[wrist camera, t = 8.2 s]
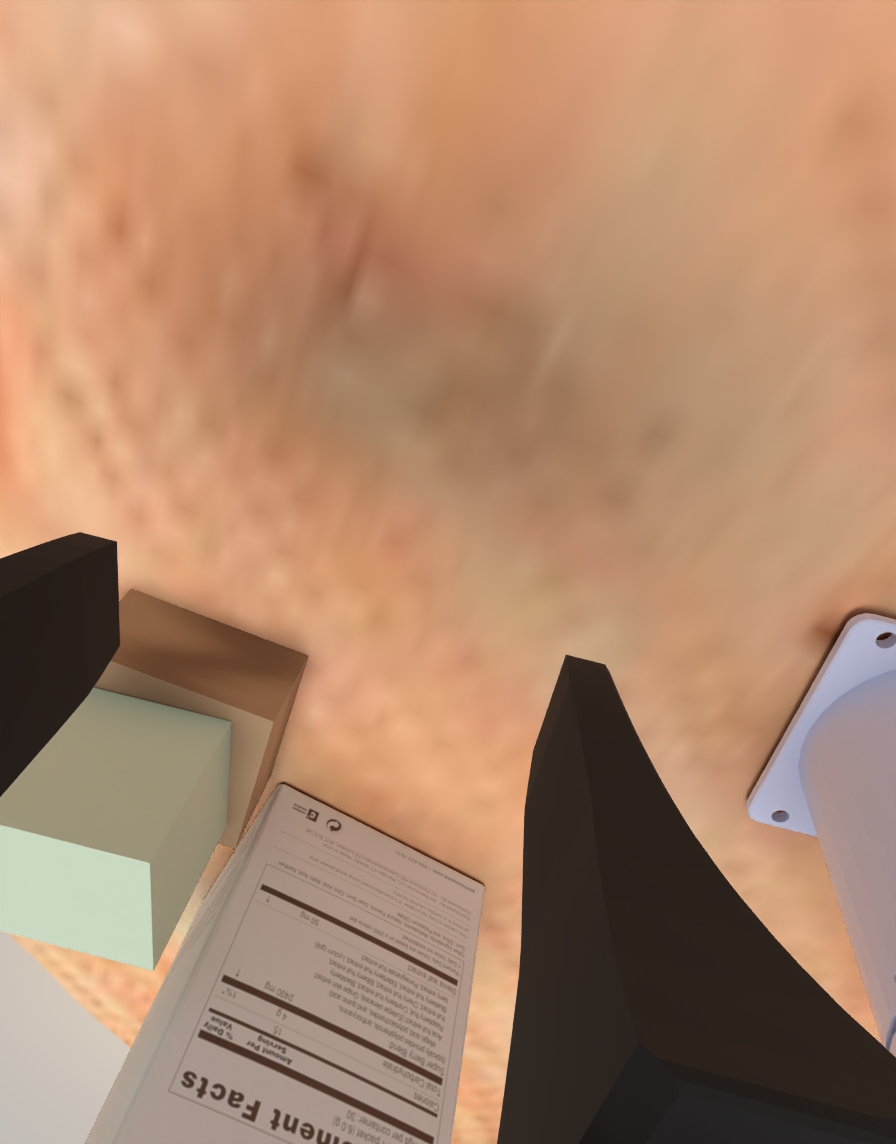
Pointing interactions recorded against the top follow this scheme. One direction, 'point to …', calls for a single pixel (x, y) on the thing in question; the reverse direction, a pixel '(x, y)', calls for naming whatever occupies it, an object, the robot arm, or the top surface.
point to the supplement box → (308, 996)
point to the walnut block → (210, 686)
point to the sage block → (113, 827)
